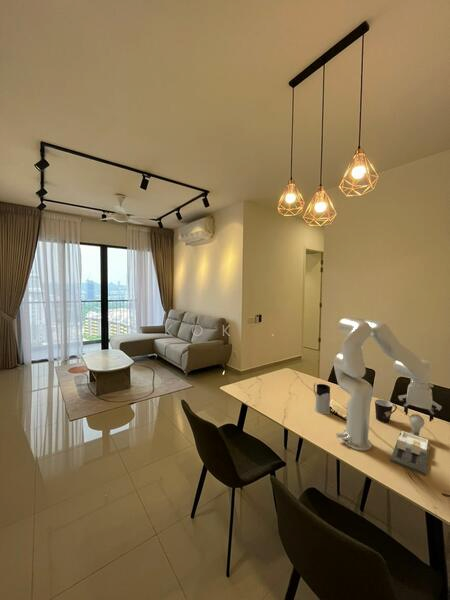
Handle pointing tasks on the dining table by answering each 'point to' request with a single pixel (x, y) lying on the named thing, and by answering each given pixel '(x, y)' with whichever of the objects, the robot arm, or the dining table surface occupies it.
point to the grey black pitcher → (322, 398)
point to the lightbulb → (416, 423)
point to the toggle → (402, 443)
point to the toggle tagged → (415, 447)
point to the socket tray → (413, 437)
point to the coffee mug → (383, 410)
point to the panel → (411, 459)
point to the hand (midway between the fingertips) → (418, 417)
